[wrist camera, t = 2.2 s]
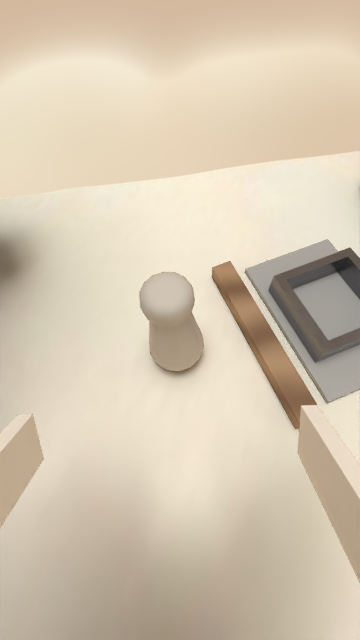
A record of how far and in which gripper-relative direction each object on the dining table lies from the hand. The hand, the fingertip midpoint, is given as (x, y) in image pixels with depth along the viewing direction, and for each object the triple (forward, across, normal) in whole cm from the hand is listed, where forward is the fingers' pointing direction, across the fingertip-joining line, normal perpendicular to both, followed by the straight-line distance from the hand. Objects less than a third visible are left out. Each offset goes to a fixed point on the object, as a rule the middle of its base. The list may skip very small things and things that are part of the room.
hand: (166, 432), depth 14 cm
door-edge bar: (+20, +9, -3) cm, 22 cm away
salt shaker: (+19, 0, -4) cm, 19 cm away
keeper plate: (+22, +17, -1) cm, 28 cm away
